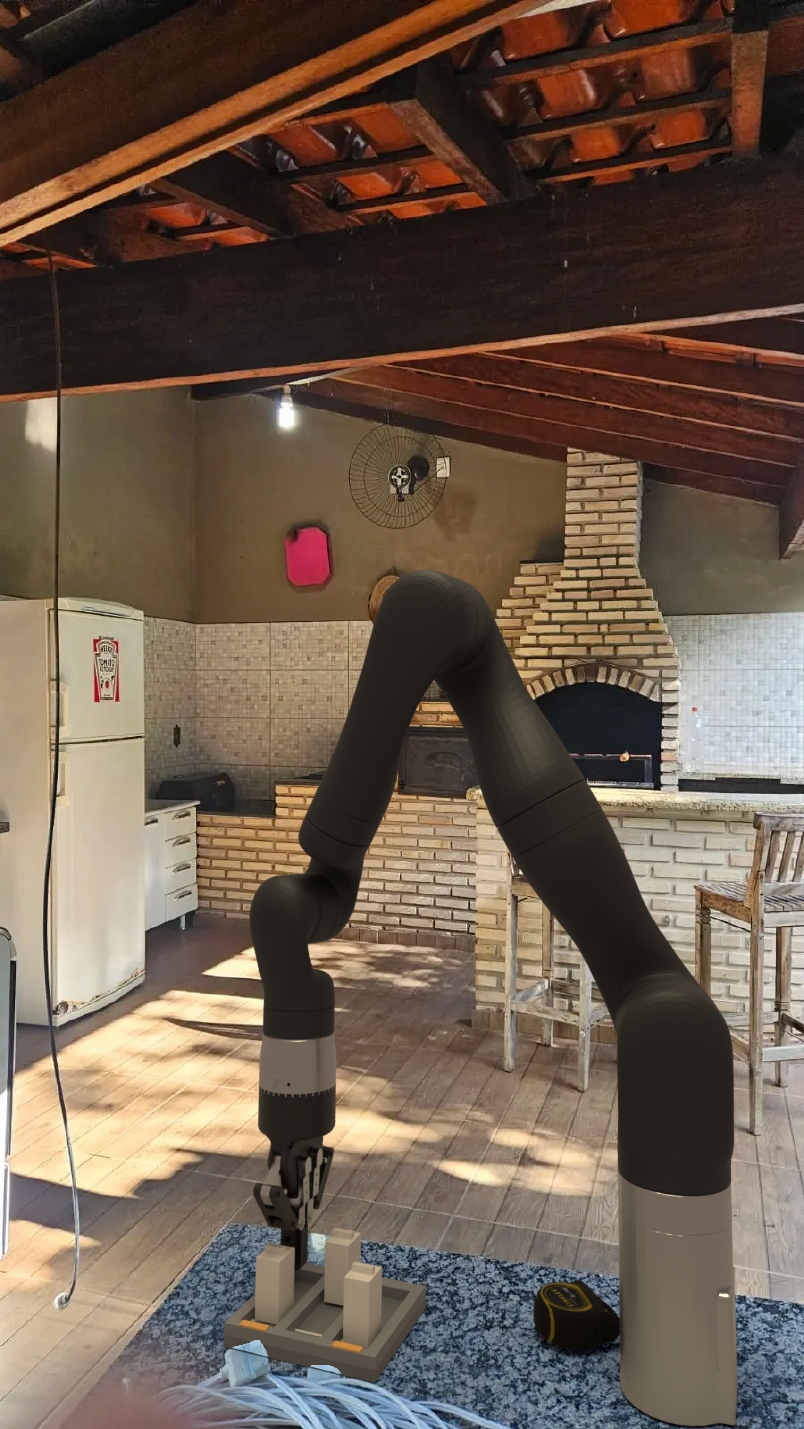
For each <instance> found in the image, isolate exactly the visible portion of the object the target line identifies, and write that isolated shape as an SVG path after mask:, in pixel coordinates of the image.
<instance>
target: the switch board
mask: <svg viewBox="0 0 804 1429" xmlns="http://www.w3.org/2000/svg"><path fill="white" fill-rule="evenodd" d="M324 1287H325V1265H322V1264H321V1265H320V1264H315V1263H311V1262H307V1263H306V1264H305V1265H304V1266H303V1267H302V1268H301V1269H300V1270H298V1271H296V1270H294V1305H293V1308H292V1309H291V1310H290V1311H289V1312H288V1313H287V1314H286V1315H285V1316H284V1317H283V1319H282V1320H281V1321H280V1322H279V1323H278V1324H272V1323H268V1322H264V1321H259V1320H255V1294H253V1295H252V1296H251V1297H250V1298H249V1299H248V1300H247V1301H246V1302H244V1304H243V1305H242V1306H241V1307H239V1308H238V1309H237V1310H236V1311H235V1312H234V1313H233V1314H232V1315H231V1316H230V1317H229V1318H228V1319H227V1320H226V1321H225V1322H224V1324H223V1325H224V1326H223V1347H224V1348H227V1349H231V1348H232V1347H234V1346H239V1345H243V1344H246V1343H250V1342H251V1341H254V1340H260V1341H261V1343H262V1344H263V1346H264V1348H265V1349H266V1351H267V1354H268V1357H267V1358H269V1359H274V1360H278V1361H281V1362H286V1363H289V1364H293V1365H294V1364H295V1365H298V1366H302V1367H306V1368H307V1367H308V1368H310V1366H311V1365H330V1366H333V1367H335V1368H337V1369H338V1370H339V1371H340V1372H341V1373H342V1374H341V1375H340V1376H344V1377H347V1378H348V1377H349V1378H353V1379H357V1380H360V1381H365V1382H369V1383H373V1384H375V1383H376V1382H377V1381H378V1378H379V1377H380V1375H382V1373H383V1371H384V1370H385V1368H386V1367H387V1365H388V1364H389V1362H391V1360H392V1358H393V1357H394V1355H395V1354H396V1352H397V1351H398V1349H399V1348H400V1346H401V1345H402V1344H403V1342H404V1340H405V1339H406V1338H407V1336H408V1334H409V1333H410V1332H411V1331H412V1329H413V1327H414V1326H415V1324H416V1323H417V1321H418V1320H419V1319H420V1317H421V1316H422V1315H423V1312H424V1311H425V1310H426V1308H427V1285H423V1284H418V1283H412V1282H407V1281H403V1280H397V1279H392V1278H388V1277H383V1276H382V1310H381V1332H380V1333H379V1334H378V1336H377V1337H376V1338H375V1340H374V1341H373V1342H372V1344H371V1345H370V1347H369V1348H365V1347H362V1346H358V1345H353V1344H349V1343H344V1342H343V1310H344V1306H343V1305H338V1304H333V1303H329V1302H324Z"/></svg>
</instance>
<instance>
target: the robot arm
mask: <svg viewBox="0 0 804 1429" xmlns="http://www.w3.org/2000/svg"><path fill="white" fill-rule="evenodd" d="M377 609H378V610H377V613H376V616H375V618H374V622H373V625H372V629H371V633H370V636H369V641H368V645H367V647H366V648H367V649H366V652H365V653H366V654H365V655H364V660H363V664H362V667H361V671H360V673H359V676H358V680H357V683H356V687H355V690H354V692H353V695H352V700H351V702H350V705H349V709H348V713H347V715H346V718H345V721H344V723H343V727H342V729H341V733H340V735H339V738H338V740H337V743H336V745H335V747H334V749H333V753H332V755H331V757H330V760H329V762H328V764H327V766H326V769H325V771H324V773H323V775H322V778H321V780H320V782H319V784H318V786H317V789H316V791H315V793H314V795H313V798H312V799H311V802H310V804H309V806H308V808H307V810H306V813H305V815H304V818H302V819H303V820H302V822H301V824H300V827H299V831H298V835H297V836H298V843H299V846H300V848H301V850H302V851H303V852H304V853H305V854H306V855H307V856H309V857H310V861H309V864H308V867H307V869H305V872H304V873H291V874H290V873H289V874H278V875H274V876H270V877H268V878H267V879H265V880H264V881H263V882H262V883H261V884H260V885H259V886H258V888H257V889H256V890H255V892H254V895H253V898H252V900H251V903H250V907H249V908H250V909H249V918H248V919H249V920H248V921H249V922H248V923H249V931H250V937H251V942H252V945H253V950H254V956H255V958H256V965H257V968H258V972H259V977H260V981H261V985H262V988H263V1008H262V1040H261V1044H260V1051H259V1070H258V1071H259V1073H258V1101H257V1103H258V1105H257V1106H258V1108H257V1110H258V1111H257V1113H258V1114H257V1129H258V1130H259V1132H260V1133H261V1134H263V1135H264V1136H265V1137H266V1138H267V1139H268V1140H269V1142H270V1144H269V1145H270V1146H269V1152H268V1155H267V1160H266V1162H267V1165H266V1166H267V1169H268V1174H267V1176H266V1177H265V1178H266V1179H265V1181H264V1182H256V1183H255V1184H254V1186H253V1190H252V1195H253V1197H254V1200H255V1201H256V1204H257V1205H258V1208H259V1210H260V1211H261V1214H262V1216H263V1217H264V1220H265V1223H266V1224H267V1226H268V1228H269V1227H270V1228H273V1229H274V1228H275V1229H279V1230H280V1245H283V1246H287V1247H293V1248H295V1258H294V1270H296V1271H298V1270H300V1269H301V1268H302V1267H303V1266H304V1265H305V1264H306V1263H308V1260H309V1259H308V1253H309V1252H308V1250H309V1224H311V1223H312V1220H313V1217H314V1216H313V1215H314V1210H316V1211H318V1210H319V1209H320V1207H321V1203H322V1200H323V1196H324V1192H325V1189H326V1186H327V1181H328V1179H329V1178H328V1177H329V1174H330V1169H331V1166H332V1162H333V1158H334V1155H335V1154H334V1153H335V1149H334V1147H332V1146H327V1145H324V1144H323V1143H324V1137H325V1136H327V1135H328V1134H331V1132H333V1130H334V1128H335V1126H336V1109H337V1107H336V1105H337V1103H336V1102H337V1101H336V1100H337V1099H336V1098H337V1096H336V1095H337V1050H336V1042H335V1041H336V1040H335V1012H336V1011H335V1010H336V1009H335V1004H336V1003H335V1002H336V997H335V996H336V995H335V992H336V991H335V982H334V980H333V977H332V976H331V975H330V973H328V972H326V971H324V970H322V969H319V968H314V967H313V964H312V961H311V955H310V952H309V945H312V944H320V943H323V942H327V941H330V940H332V939H333V938H335V937H336V936H338V935H339V934H340V933H341V932H342V931H343V930H344V928H345V927H346V925H347V924H348V923H349V920H350V919H351V917H352V915H353V912H354V910H355V907H356V903H357V900H358V895H359V890H360V884H361V879H362V875H363V869H364V864H365V863H364V862H365V856H366V854H367V852H368V850H369V848H370V846H371V844H372V842H373V840H374V838H375V836H376V834H377V832H378V829H379V828H380V825H381V823H382V821H383V818H384V817H385V814H386V812H387V811H388V807H389V805H390V802H391V800H392V798H393V794H394V791H395V788H396V784H397V780H398V775H399V769H400V764H401V760H402V755H403V751H404V745H405V741H406V738H407V734H408V732H409V729H410V726H411V724H412V720H413V718H414V716H415V714H416V711H417V709H418V707H419V705H420V703H421V701H422V699H423V698H424V696H425V694H426V693H427V692H428V690H429V688H430V686H431V685H432V683H433V682H434V681H435V684H436V685H437V686H438V688H439V689H440V691H441V692H442V693H443V695H444V697H445V698H446V700H447V702H448V703H449V704H450V707H451V708H452V710H453V712H454V713H455V715H456V716H457V718H458V720H459V722H460V723H461V726H462V729H463V730H464V733H465V736H466V739H467V741H468V746H469V748H470V754H471V755H472V756H471V757H472V761H473V765H474V766H473V767H474V770H475V773H476V777H477V782H478V785H479V788H480V792H481V795H482V798H483V802H484V804H485V806H486V809H487V811H488V814H489V815H490V818H491V820H492V822H493V824H494V827H495V828H496V830H497V831H498V833H499V836H500V837H501V838H502V840H503V842H504V844H505V846H506V848H507V849H508V852H509V854H510V856H511V857H512V858H513V861H514V862H515V864H516V865H517V867H518V869H519V870H520V872H521V873H522V875H523V876H524V879H525V880H526V882H527V883H528V884H529V885H530V887H531V888H532V890H533V891H534V893H535V894H536V895H537V897H538V898H539V900H541V902H542V903H543V905H544V906H545V907H546V909H547V910H548V911H549V912H550V914H551V915H552V916H553V917H554V918H555V920H556V921H557V923H558V924H559V925H560V926H561V927H562V928H563V930H564V931H565V932H566V933H567V935H568V936H569V938H570V939H571V941H572V942H573V943H574V945H575V946H576V948H577V949H578V951H579V952H580V954H581V955H582V957H583V960H584V962H585V963H586V965H587V967H588V970H589V971H590V974H591V976H592V978H593V980H594V983H595V984H596V987H597V988H598V990H599V993H600V995H601V997H602V999H603V1002H604V1004H605V1007H606V1009H607V1012H608V1014H609V1016H610V1018H611V1021H612V1024H613V1027H614V1031H615V1034H616V1037H615V1038H616V1070H617V1071H616V1075H617V1077H616V1079H617V1141H616V1142H617V1143H616V1146H617V1147H616V1148H617V1150H616V1151H617V1201H618V1202H617V1207H618V1208H617V1211H618V1212H617V1214H618V1215H617V1219H618V1220H617V1221H618V1222H617V1223H618V1226H617V1227H618V1232H617V1234H618V1291H619V1292H618V1295H619V1296H618V1299H619V1300H618V1301H619V1302H618V1304H619V1305H618V1307H619V1308H618V1310H619V1311H618V1313H619V1314H618V1316H619V1324H620V1335H619V1375H620V1376H619V1377H620V1378H619V1379H620V1381H619V1382H620V1383H619V1384H620V1388H621V1391H622V1394H623V1395H624V1396H625V1398H626V1399H627V1400H628V1401H629V1402H630V1403H631V1404H632V1405H633V1406H634V1407H635V1408H637V1409H638V1410H640V1411H641V1412H643V1413H644V1414H647V1415H648V1416H651V1417H653V1418H655V1419H658V1420H660V1421H662V1422H663V1421H664V1422H666V1423H670V1424H674V1425H680V1426H688V1427H689V1426H690V1427H696V1426H697V1427H699V1426H700V1427H702V1426H705V1427H706V1426H709V1425H715V1424H726V1425H730V1426H735V1425H736V1417H737V1400H738V1399H737V1396H738V1395H737V1394H738V1366H737V1365H738V1359H737V1358H738V1357H737V1322H736V1321H737V1318H736V1315H737V1311H736V1310H737V1308H736V1279H735V1278H736V1274H735V1272H736V1271H735V1267H734V1254H733V1253H734V1249H733V1246H734V1245H733V1244H734V1243H733V1210H732V1209H733V1208H732V1158H733V1154H734V1149H735V1079H734V1078H735V1077H734V1076H735V1074H734V1073H735V1072H734V1071H735V1069H734V1068H735V1067H734V1048H733V1040H732V1036H731V1032H730V1029H729V1026H728V1023H727V1021H726V1019H725V1017H724V1016H723V1014H722V1013H721V1011H720V1009H719V1008H718V1006H717V1004H716V1003H715V1002H714V1000H713V999H712V997H711V996H710V995H709V994H708V993H707V991H706V990H705V989H704V988H703V987H702V986H701V984H699V982H698V981H697V980H696V978H695V977H694V975H692V973H691V971H689V969H688V968H687V967H686V965H685V964H684V962H683V961H682V959H681V958H680V957H679V955H678V954H677V952H676V950H674V948H673V946H672V945H671V943H670V942H669V940H667V937H666V936H665V935H664V933H663V932H662V930H661V929H660V928H659V925H658V924H657V923H656V921H655V920H654V918H653V915H652V914H651V912H650V910H649V909H648V907H647V905H646V902H645V900H644V898H643V896H642V893H641V891H640V888H639V886H638V884H637V881H636V878H635V876H634V873H633V871H632V868H631V865H630V863H629V860H628V858H627V856H626V855H625V852H624V849H623V847H622V845H621V843H620V841H619V838H618V836H617V835H616V832H615V830H614V828H613V827H612V824H611V823H610V821H609V818H608V817H607V815H606V813H605V811H604V809H603V807H602V806H601V804H600V802H599V801H598V799H597V798H596V796H595V794H594V792H593V790H592V789H591V787H590V785H589V783H588V782H587V780H586V778H585V777H584V775H583V773H582V772H581V770H580V768H579V767H578V766H577V763H576V762H575V761H574V759H573V758H572V756H571V754H570V753H569V751H568V750H567V747H565V745H564V744H563V741H562V740H561V738H560V737H559V735H558V734H557V732H556V731H555V729H554V727H553V726H552V725H551V723H550V722H549V720H548V719H547V717H546V716H545V714H544V713H543V712H542V710H541V709H540V707H539V705H537V703H536V701H535V700H534V699H533V696H532V695H531V694H530V691H529V689H528V688H527V686H526V684H525V683H524V680H523V679H522V677H521V675H520V673H519V671H518V668H517V667H516V664H515V662H514V660H513V658H512V655H511V654H510V651H509V648H508V647H507V644H506V642H505V639H504V637H503V635H502V633H501V630H500V628H499V626H498V624H497V621H496V618H495V616H494V614H493V612H492V609H491V607H490V606H489V603H488V602H487V601H486V599H485V597H484V596H483V595H482V593H481V592H480V591H479V590H478V589H477V588H475V586H473V585H472V584H470V583H468V582H467V581H465V580H464V579H461V578H459V577H455V576H453V575H449V574H447V573H444V572H441V571H438V570H433V569H416V570H412V571H410V572H407V573H405V574H404V575H403V574H402V575H401V576H399V577H398V578H397V579H396V580H395V581H393V583H392V584H391V585H390V586H389V587H388V589H387V590H386V591H385V593H384V595H383V597H382V599H381V601H380V604H379V607H378V608H377Z"/></svg>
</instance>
